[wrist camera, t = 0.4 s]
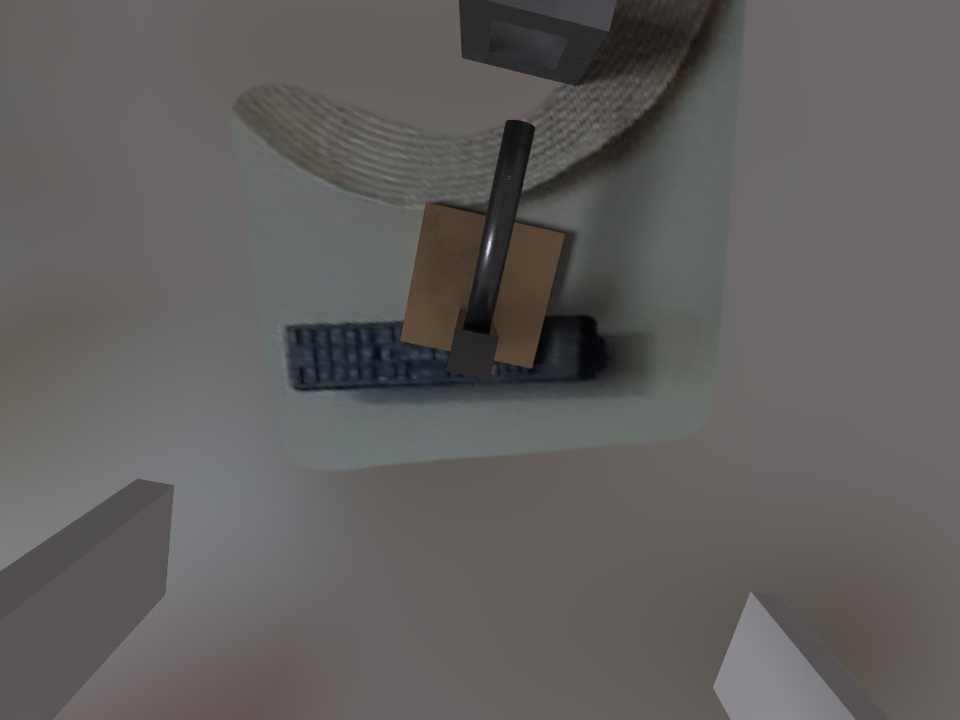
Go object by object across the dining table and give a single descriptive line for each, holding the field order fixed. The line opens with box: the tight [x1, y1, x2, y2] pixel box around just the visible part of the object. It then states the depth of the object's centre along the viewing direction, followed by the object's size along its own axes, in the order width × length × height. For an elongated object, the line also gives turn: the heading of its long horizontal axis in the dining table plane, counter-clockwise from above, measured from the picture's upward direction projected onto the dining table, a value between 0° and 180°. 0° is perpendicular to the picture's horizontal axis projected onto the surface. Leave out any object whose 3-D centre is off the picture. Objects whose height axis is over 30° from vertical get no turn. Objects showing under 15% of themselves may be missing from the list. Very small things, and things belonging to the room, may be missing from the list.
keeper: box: [401, 120, 565, 380], centre depth 30 cm, size 14×10×10 cm
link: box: [459, 0, 617, 86], centre depth 28 cm, size 2×8×8 cm, turn 78°
